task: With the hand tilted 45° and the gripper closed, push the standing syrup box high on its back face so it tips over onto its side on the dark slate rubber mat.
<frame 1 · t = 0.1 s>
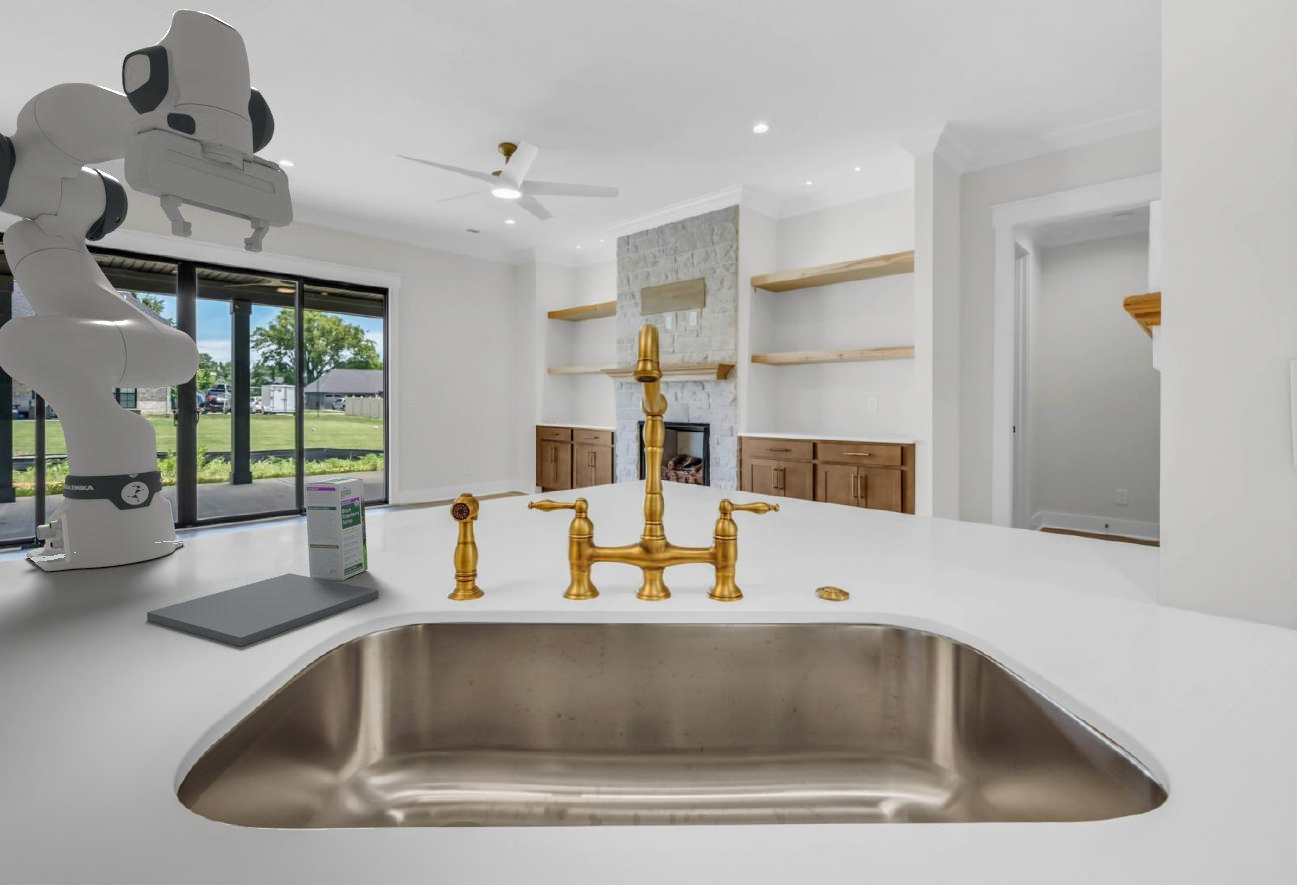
hand: (219, 244, 85), 48 cm above the countertop, tool pointing down, fingers open, 8 cm apart
syrup box: (338, 575, 93), on the countertop
slate mat: (269, 608, 78), on the countertop
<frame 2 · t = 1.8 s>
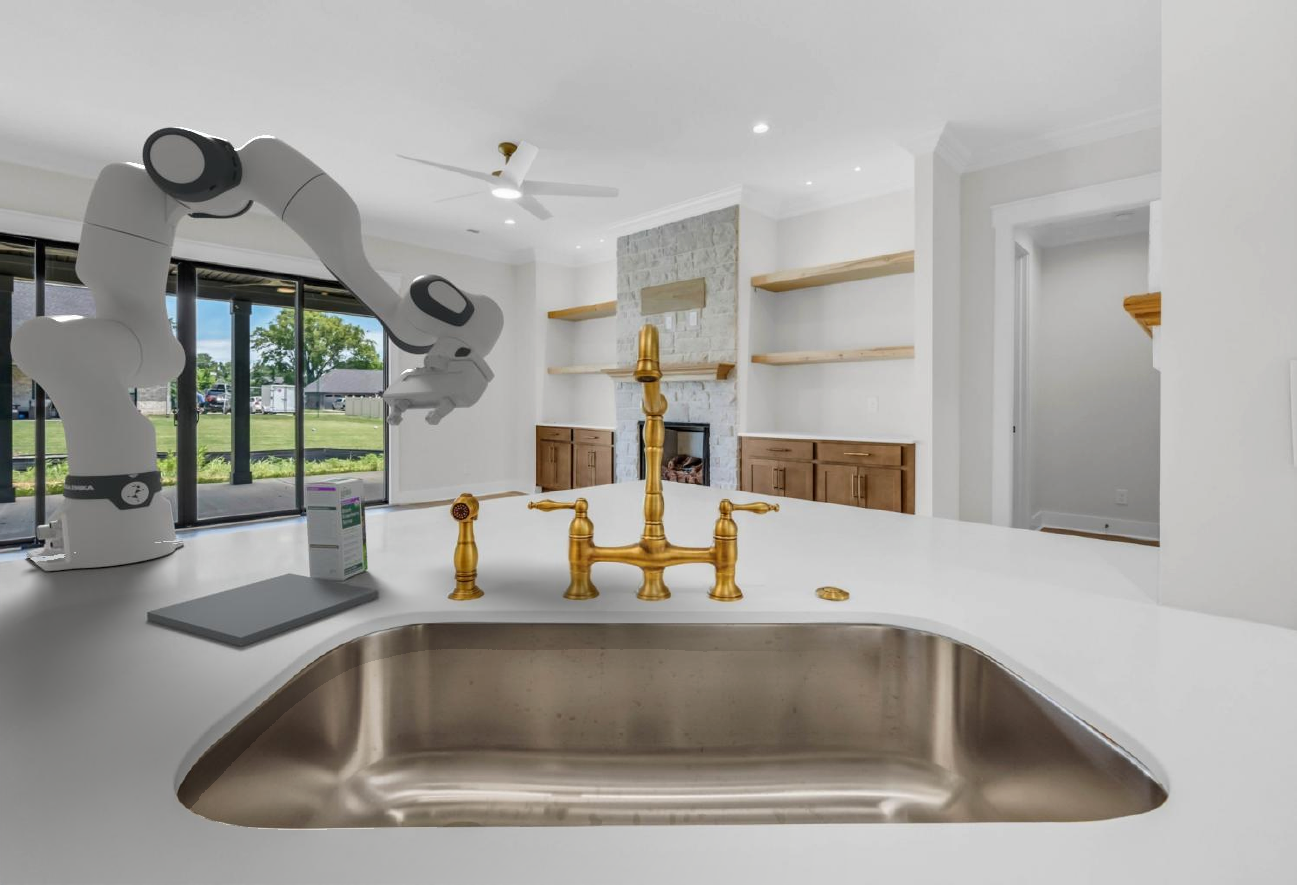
hand: (410, 422, 104), 22 cm above the countertop, tool tilted 45°, fingers open, 8 cm apart
nothing on the countertop moved.
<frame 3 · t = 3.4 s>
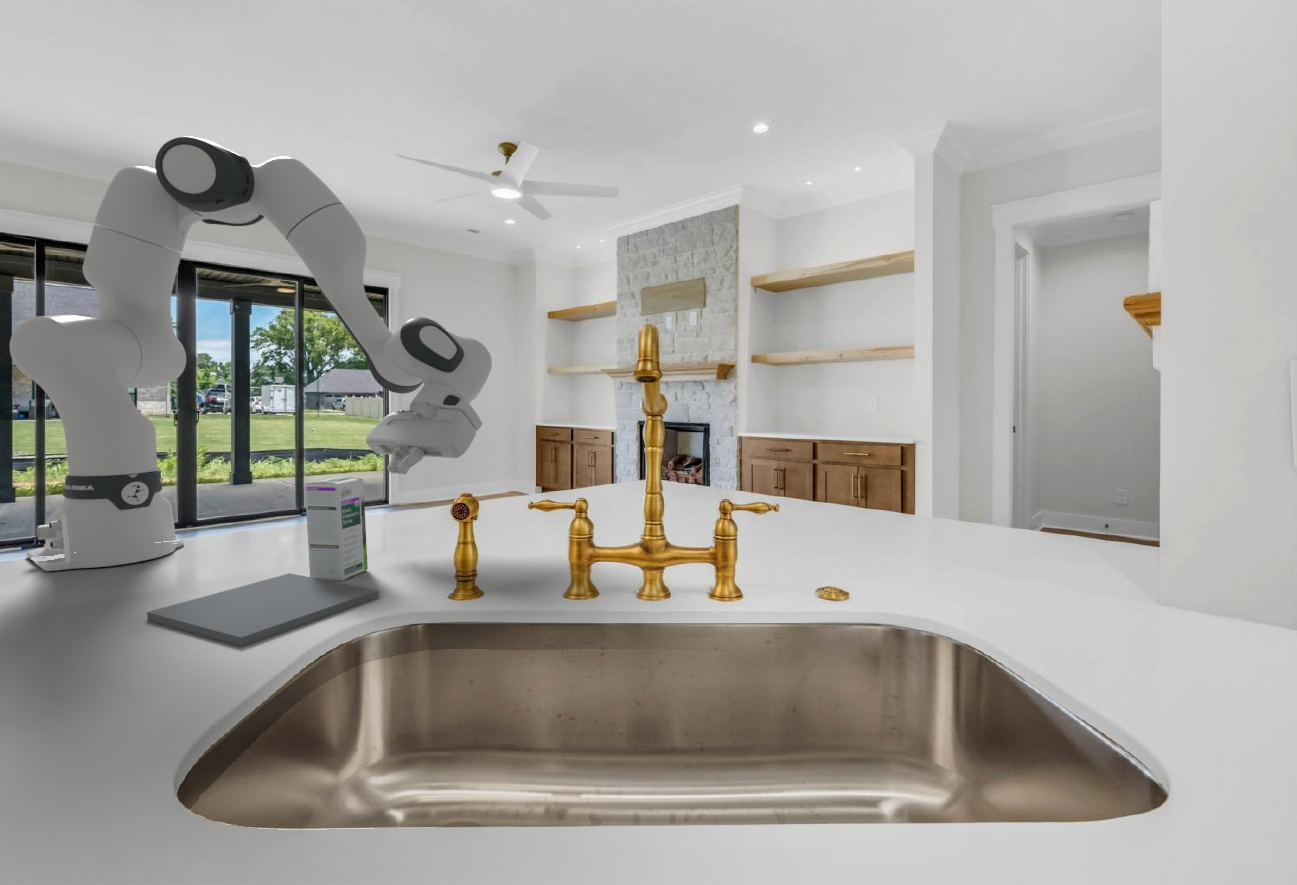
hand: (395, 471, 102), 14 cm above the countertop, tool tilted 45°, fingers closed
nothing on the countertop moved.
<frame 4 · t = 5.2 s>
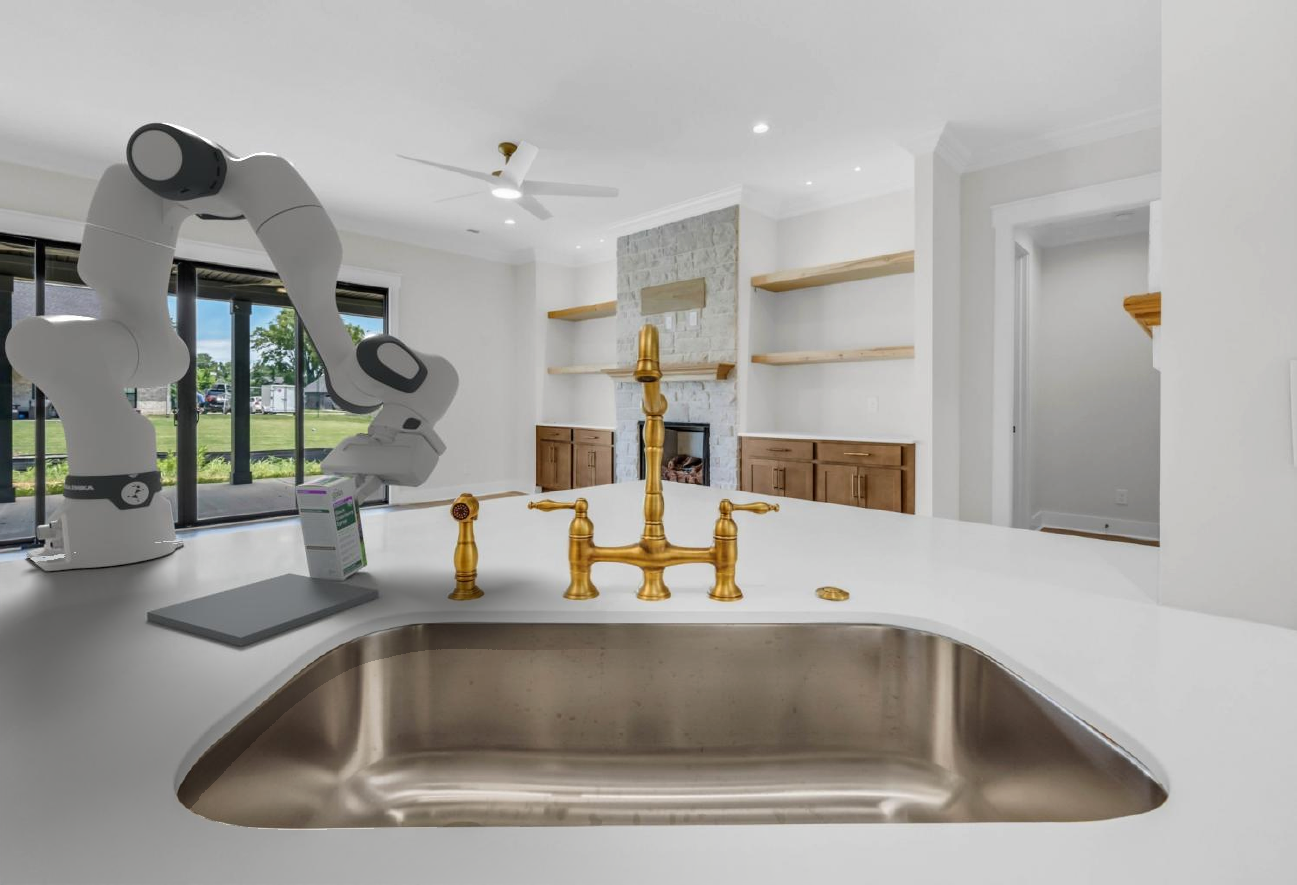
hand: (350, 502, 94), 11 cm above the countertop, tool tilted 45°, fingers closed
syrup box: (338, 573, 93), on the countertop, touching gripper
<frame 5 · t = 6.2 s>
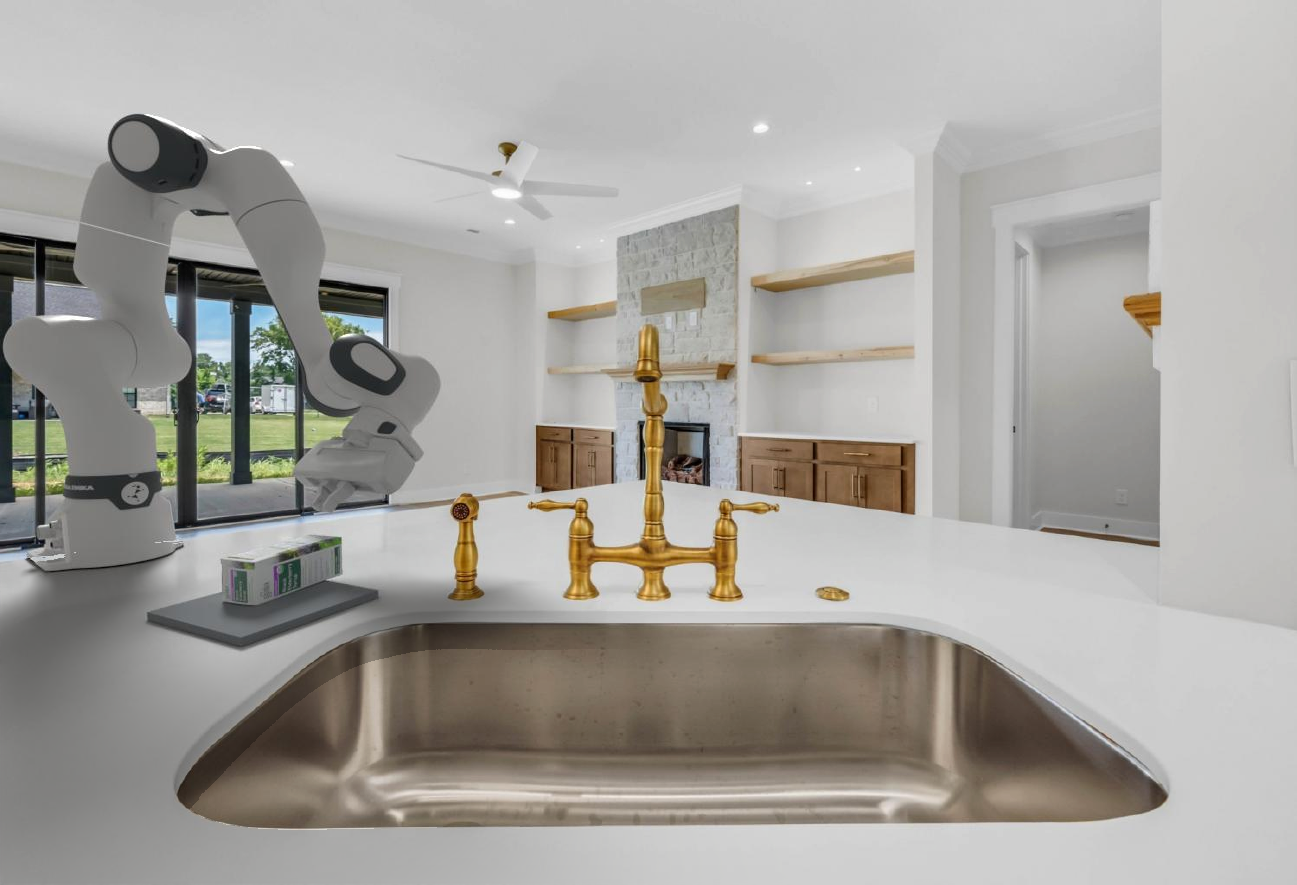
hand: (320, 509, 90), 10 cm above the countertop, tool tilted 45°, fingers closed
syrup box: (327, 553, 90), point 4 cm above the countertop, touching slate mat
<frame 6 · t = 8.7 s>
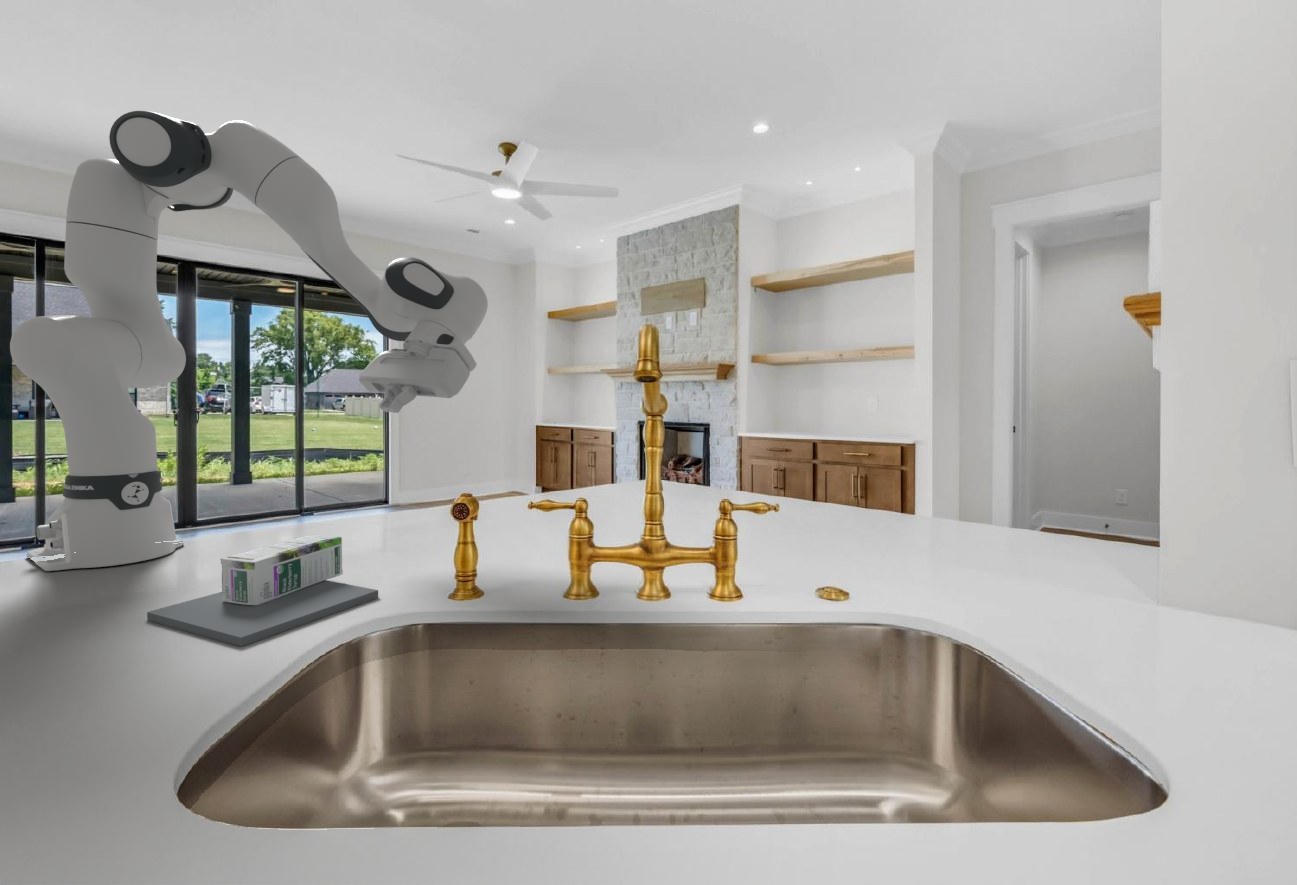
hand: (387, 410, 101), 25 cm above the countertop, tool tilted 40°, fingers closed
nothing on the countertop moved.
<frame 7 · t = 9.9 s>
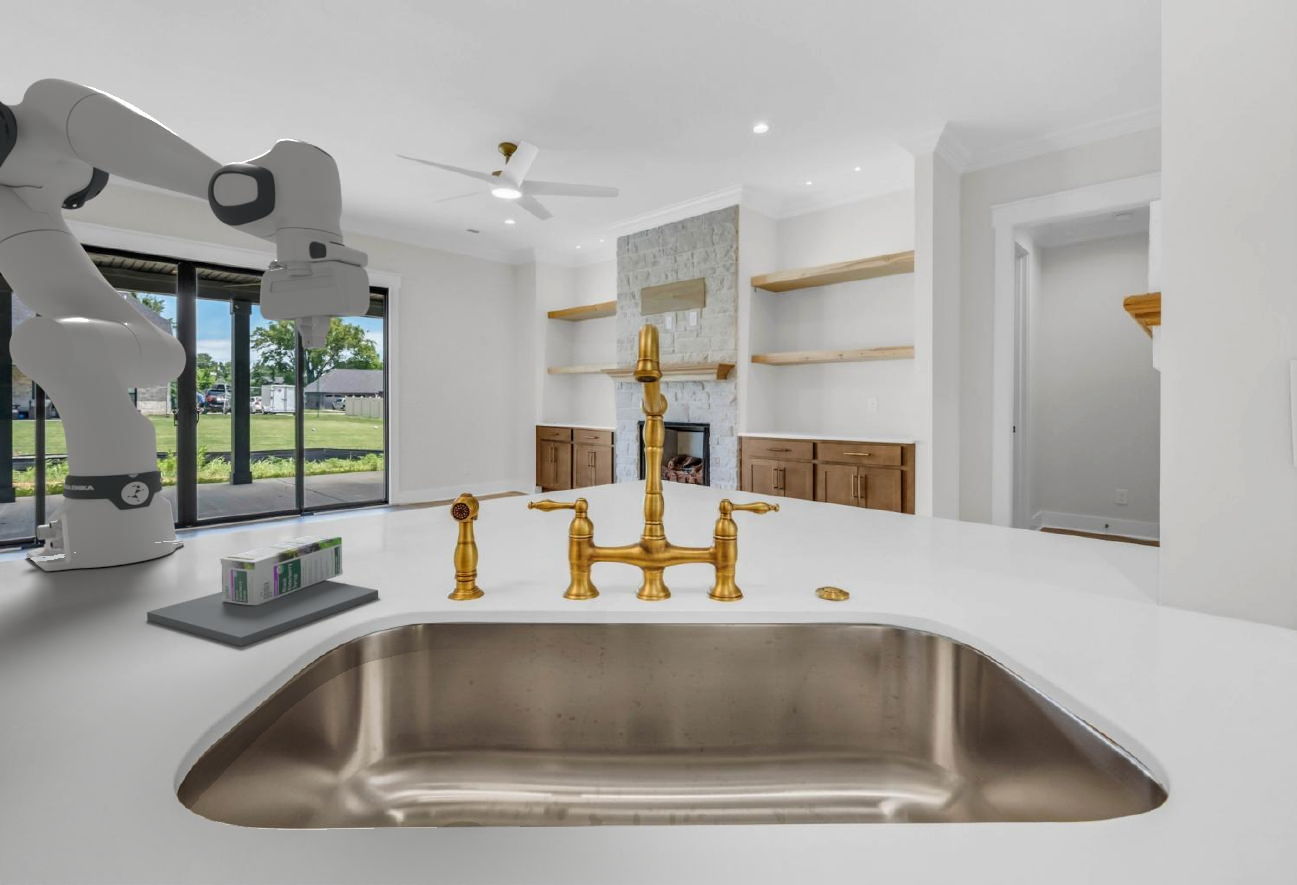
hand: (314, 348, 93), 34 cm above the countertop, tool pointing down, fingers closed
nothing on the countertop moved.
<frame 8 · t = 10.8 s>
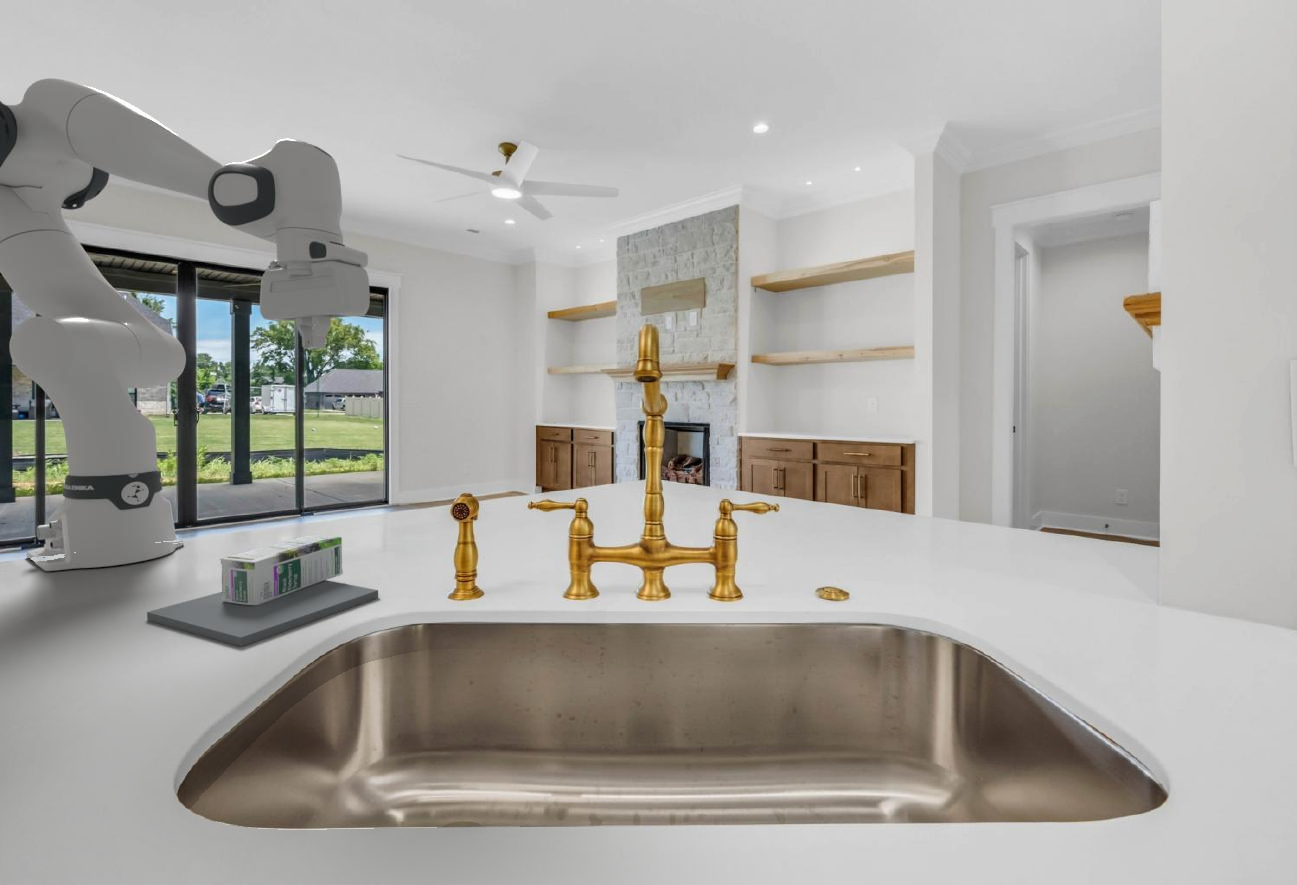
hand: (314, 348, 93), 34 cm above the countertop, tool pointing down, fingers closed
nothing on the countertop moved.
at the end: syrup box tilted 90°; syrup box touching slate mat; the gripper is holding nothing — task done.
